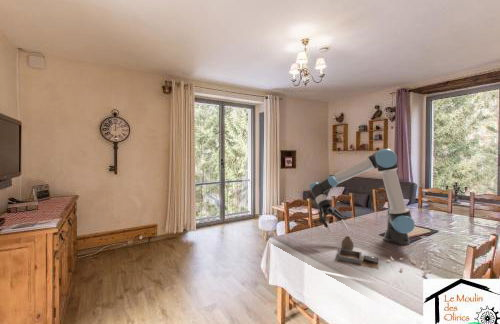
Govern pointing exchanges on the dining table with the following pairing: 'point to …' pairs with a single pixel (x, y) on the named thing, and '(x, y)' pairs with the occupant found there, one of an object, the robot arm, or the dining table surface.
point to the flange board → (363, 263)
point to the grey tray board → (353, 260)
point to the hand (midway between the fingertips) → (338, 230)
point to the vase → (347, 243)
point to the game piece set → (413, 263)
